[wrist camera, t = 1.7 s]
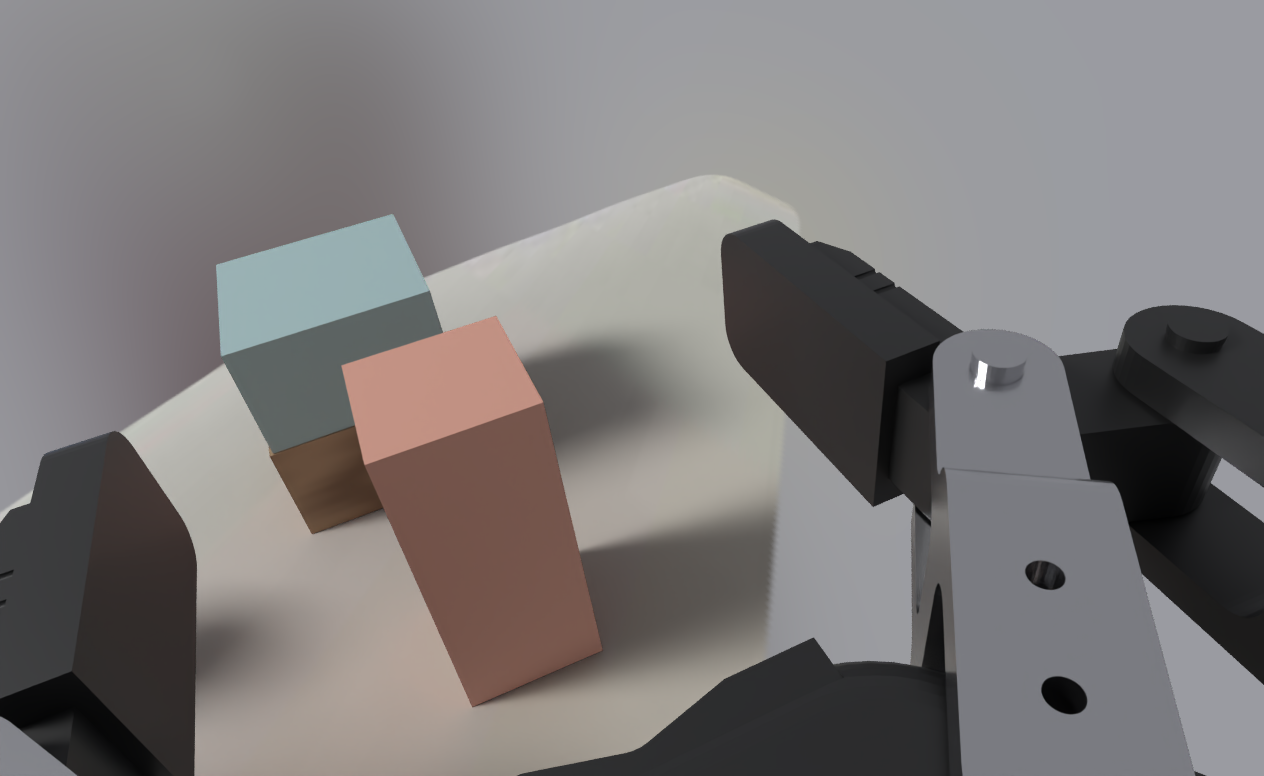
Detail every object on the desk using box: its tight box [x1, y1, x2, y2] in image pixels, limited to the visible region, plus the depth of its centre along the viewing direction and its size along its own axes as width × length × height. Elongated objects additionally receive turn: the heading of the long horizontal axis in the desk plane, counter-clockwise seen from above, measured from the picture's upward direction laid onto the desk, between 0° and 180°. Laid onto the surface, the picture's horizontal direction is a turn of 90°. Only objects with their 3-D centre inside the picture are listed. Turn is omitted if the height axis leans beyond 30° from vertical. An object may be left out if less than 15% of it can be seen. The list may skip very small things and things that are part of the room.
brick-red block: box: [341, 316, 603, 707], centre depth 28 cm, size 5×5×12 cm
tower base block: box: [269, 425, 383, 534], centre depth 39 cm, size 8×8×5 cm
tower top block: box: [216, 214, 443, 454], centre depth 36 cm, size 8×8×5 cm
